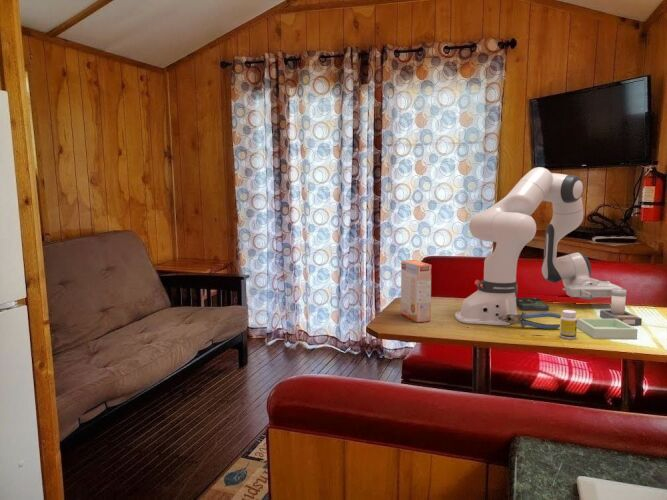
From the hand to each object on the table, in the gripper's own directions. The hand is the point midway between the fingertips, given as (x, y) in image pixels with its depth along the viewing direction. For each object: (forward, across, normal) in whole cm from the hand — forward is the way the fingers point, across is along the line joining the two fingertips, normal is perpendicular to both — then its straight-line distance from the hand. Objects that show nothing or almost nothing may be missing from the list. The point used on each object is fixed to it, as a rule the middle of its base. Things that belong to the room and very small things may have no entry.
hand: (603, 295), depth 190 cm
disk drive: (-9, -24, +7) cm, 27 cm away
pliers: (+23, -35, +7) cm, 42 cm away
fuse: (+11, 0, +6) cm, 13 cm away
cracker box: (+10, -72, +7) cm, 73 cm away
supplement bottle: (+33, -26, +7) cm, 43 cm away
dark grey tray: (+13, 0, +6) cm, 14 cm away
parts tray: (+28, -12, +6) cm, 31 cm away
